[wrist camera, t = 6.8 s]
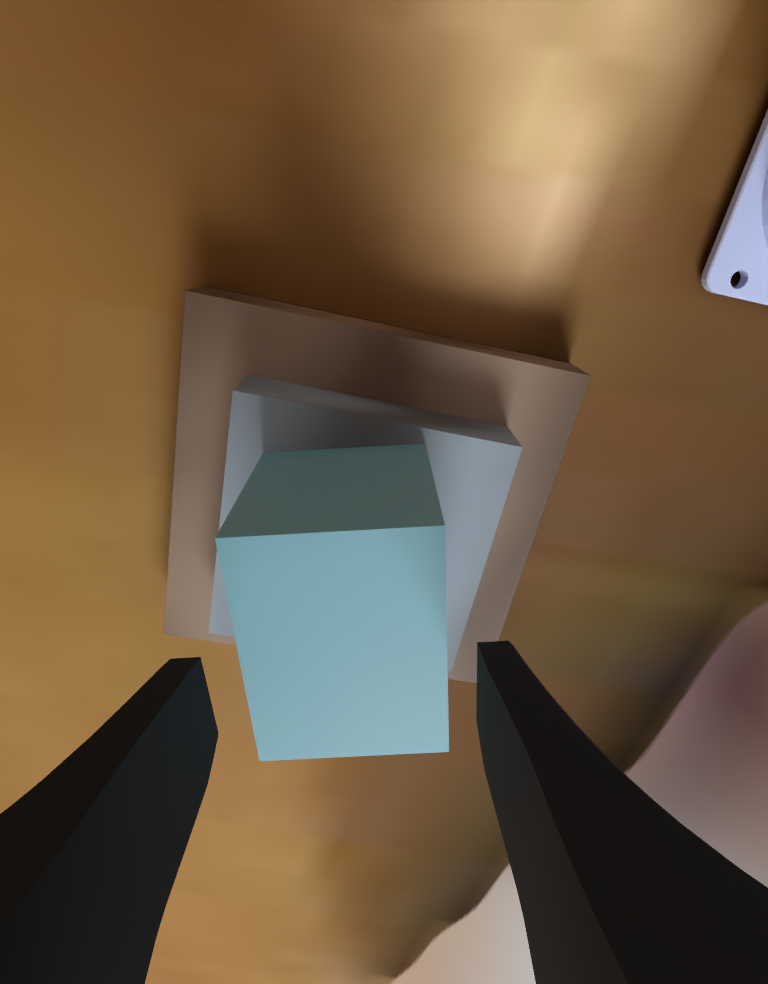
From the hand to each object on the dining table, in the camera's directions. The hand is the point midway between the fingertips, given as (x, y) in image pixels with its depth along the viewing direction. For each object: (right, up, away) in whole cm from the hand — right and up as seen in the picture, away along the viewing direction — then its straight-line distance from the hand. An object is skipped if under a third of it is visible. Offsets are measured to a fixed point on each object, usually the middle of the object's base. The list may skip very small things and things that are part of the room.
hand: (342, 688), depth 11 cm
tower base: (0, +4, +9) cm, 10 cm away
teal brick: (0, +2, +5) cm, 6 cm away
